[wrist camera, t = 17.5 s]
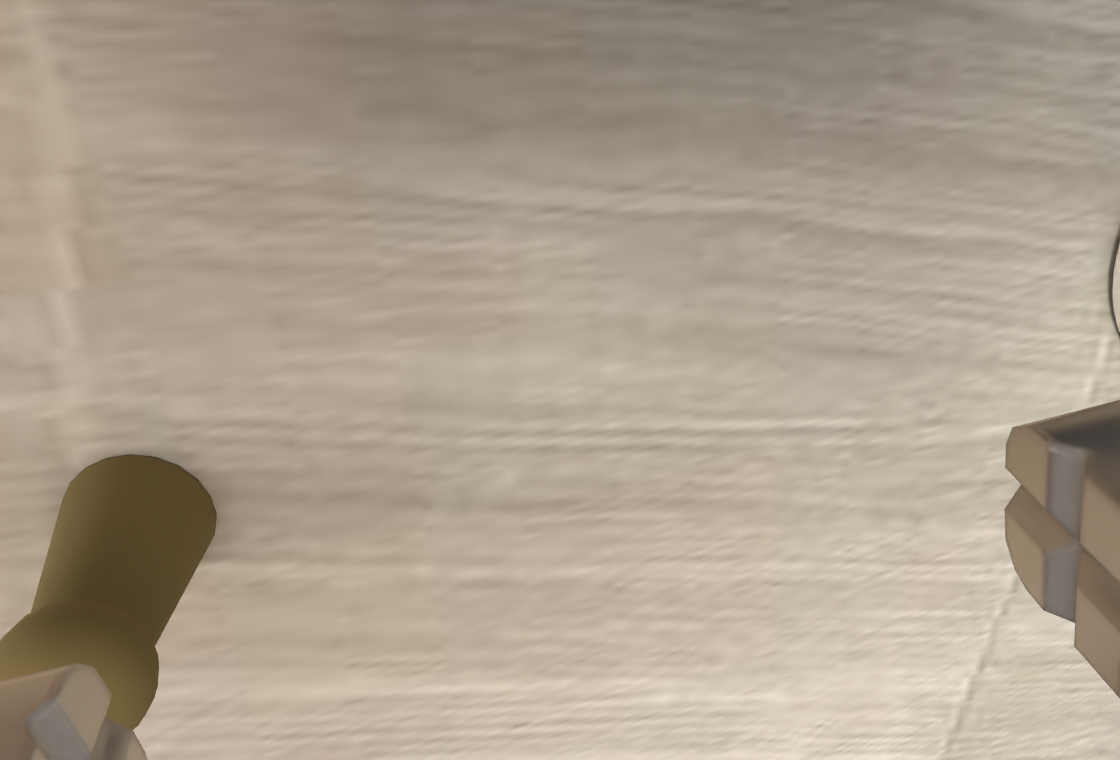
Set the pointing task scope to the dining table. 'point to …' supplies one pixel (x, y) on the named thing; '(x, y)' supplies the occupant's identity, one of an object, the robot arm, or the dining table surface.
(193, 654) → the dining table surface
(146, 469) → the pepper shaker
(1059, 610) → the robot arm
